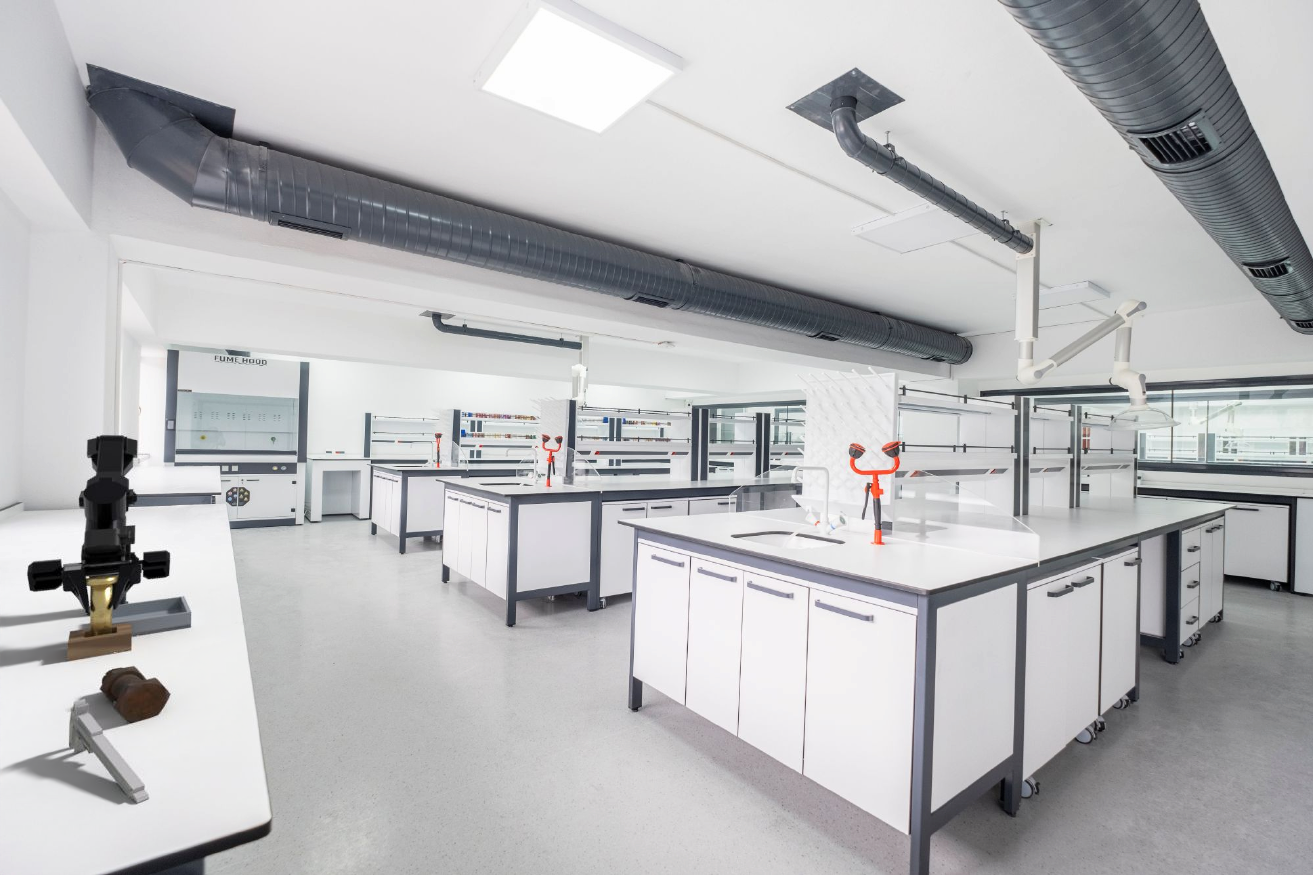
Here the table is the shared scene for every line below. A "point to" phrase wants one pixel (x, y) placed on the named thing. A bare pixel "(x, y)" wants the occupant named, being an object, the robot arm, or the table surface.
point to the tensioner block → (99, 642)
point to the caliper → (102, 750)
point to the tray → (154, 615)
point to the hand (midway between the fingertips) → (100, 610)
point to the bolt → (134, 694)
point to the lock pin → (101, 604)
